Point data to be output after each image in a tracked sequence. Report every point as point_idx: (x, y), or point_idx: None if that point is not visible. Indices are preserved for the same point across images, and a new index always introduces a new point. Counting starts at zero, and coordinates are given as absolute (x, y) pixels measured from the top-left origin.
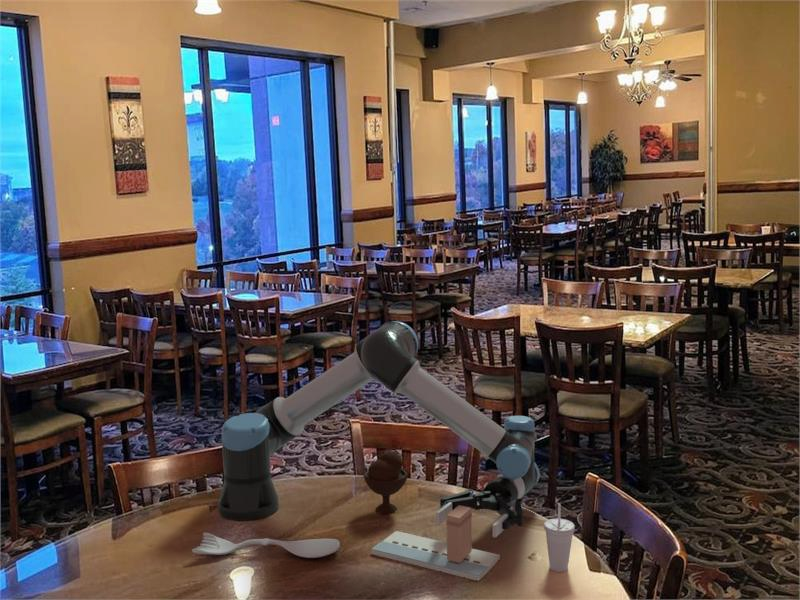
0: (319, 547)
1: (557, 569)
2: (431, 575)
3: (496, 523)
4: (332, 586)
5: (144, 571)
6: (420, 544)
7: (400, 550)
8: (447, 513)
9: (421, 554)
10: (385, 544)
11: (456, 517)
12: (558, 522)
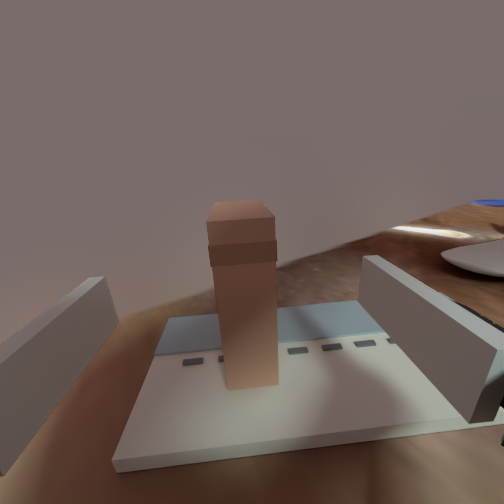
0: (497, 267)
1: None
2: None
3: (83, 286)
4: (353, 249)
5: (491, 216)
6: (411, 361)
7: None
8: (414, 336)
9: (341, 320)
10: None
11: (226, 202)
12: None
